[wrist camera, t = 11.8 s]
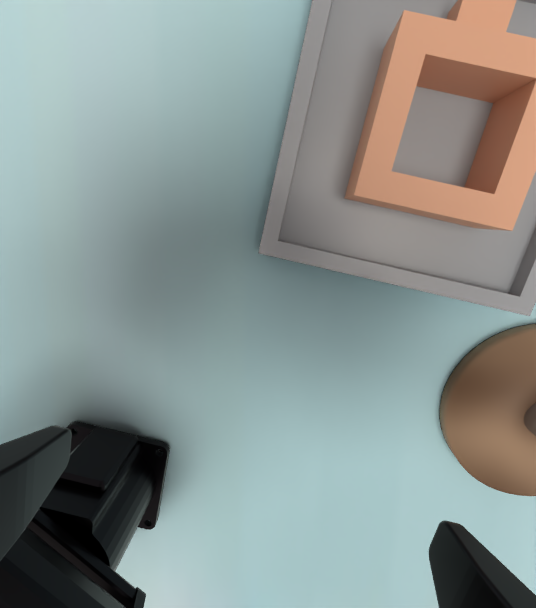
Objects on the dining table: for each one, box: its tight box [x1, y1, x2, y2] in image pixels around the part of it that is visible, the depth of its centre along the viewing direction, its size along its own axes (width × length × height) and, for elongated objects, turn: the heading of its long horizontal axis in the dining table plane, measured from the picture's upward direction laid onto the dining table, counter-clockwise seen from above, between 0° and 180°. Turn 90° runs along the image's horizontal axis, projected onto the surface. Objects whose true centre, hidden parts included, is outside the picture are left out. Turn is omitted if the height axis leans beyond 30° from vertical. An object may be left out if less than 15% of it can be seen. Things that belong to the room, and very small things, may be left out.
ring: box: [344, 0, 536, 231], centre depth 15 cm, size 8×7×3 cm
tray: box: [258, 0, 536, 316], centre depth 16 cm, size 14×14×2 cm
